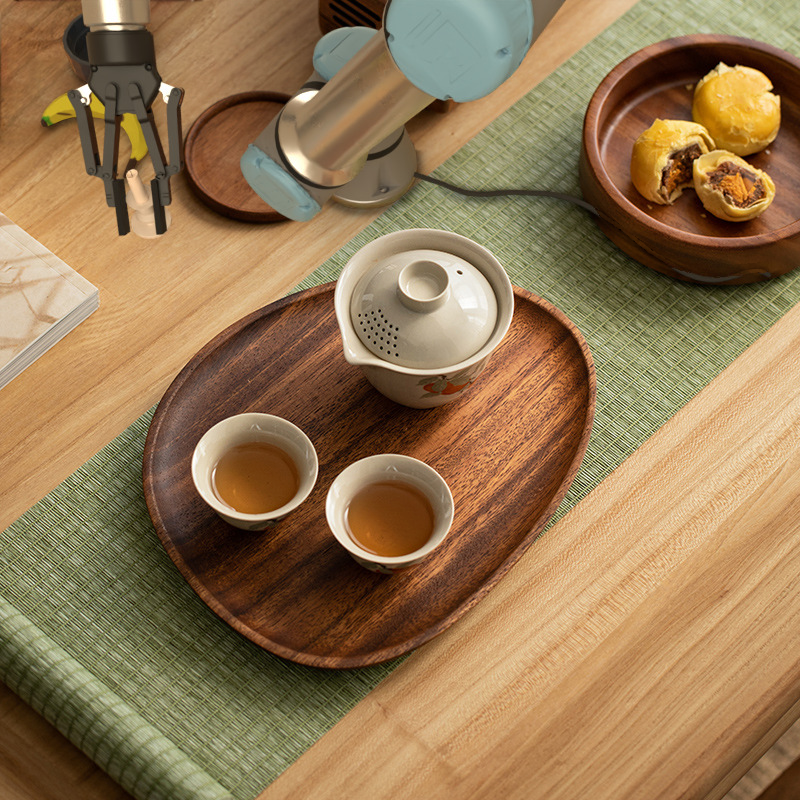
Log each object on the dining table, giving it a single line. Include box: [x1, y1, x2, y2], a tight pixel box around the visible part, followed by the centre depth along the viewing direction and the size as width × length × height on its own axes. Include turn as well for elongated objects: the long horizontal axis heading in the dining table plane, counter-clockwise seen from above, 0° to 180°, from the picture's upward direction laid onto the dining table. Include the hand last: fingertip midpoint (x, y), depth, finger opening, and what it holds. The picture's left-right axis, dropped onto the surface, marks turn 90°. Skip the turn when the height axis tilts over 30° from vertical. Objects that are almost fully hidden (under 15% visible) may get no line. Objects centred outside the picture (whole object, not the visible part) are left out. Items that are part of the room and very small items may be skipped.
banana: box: [40, 91, 148, 180], centre depth 138 cm, size 5×17×15 cm
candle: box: [126, 168, 173, 240], centre depth 114 cm, size 5×5×10 cm
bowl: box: [61, 12, 90, 84], centre depth 143 cm, size 12×12×5 cm
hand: (143, 232), depth 114 cm, fingers closed on candle, 4 cm apart
